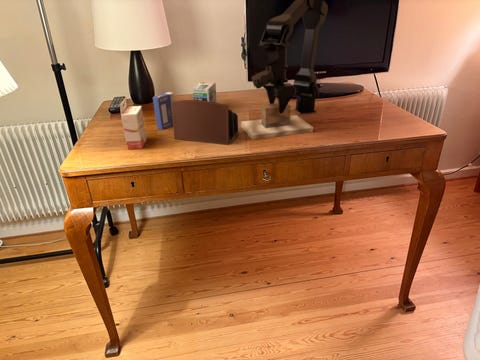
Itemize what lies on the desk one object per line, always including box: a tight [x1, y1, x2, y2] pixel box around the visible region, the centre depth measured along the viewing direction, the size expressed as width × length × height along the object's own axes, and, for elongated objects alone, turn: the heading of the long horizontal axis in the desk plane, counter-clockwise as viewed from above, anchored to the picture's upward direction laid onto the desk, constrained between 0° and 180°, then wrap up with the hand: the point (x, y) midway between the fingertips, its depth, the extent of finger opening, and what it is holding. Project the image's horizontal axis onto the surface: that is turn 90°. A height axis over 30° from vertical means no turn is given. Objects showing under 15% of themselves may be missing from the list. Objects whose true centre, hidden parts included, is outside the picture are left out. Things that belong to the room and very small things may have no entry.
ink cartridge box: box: [119, 97, 147, 150], centre depth 110 cm, size 9×5×15 cm, turn 5°
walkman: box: [152, 91, 175, 131], centre depth 125 cm, size 8×3×12 cm, turn 144°
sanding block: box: [260, 102, 292, 128], centre depth 120 cm, size 9×4×7 cm, turn 106°
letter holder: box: [171, 99, 239, 146], centre depth 114 cm, size 10×20×14 cm, turn 72°
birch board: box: [240, 114, 314, 140], centre depth 122 cm, size 22×14×2 cm, turn 106°
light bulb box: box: [192, 81, 218, 103], centre depth 139 cm, size 11×7×11 cm, turn 168°
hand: (276, 109), depth 119 cm, fingers open, 9 cm apart
